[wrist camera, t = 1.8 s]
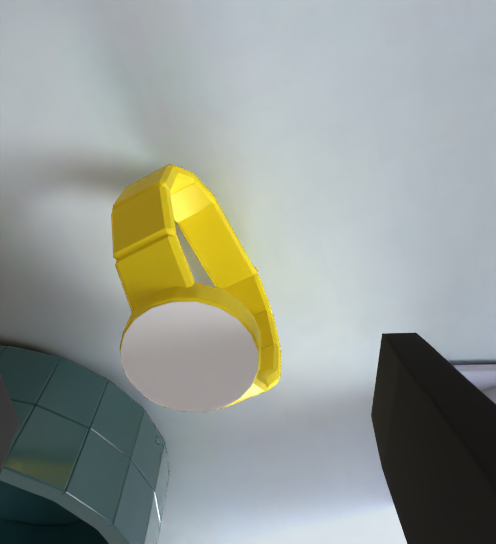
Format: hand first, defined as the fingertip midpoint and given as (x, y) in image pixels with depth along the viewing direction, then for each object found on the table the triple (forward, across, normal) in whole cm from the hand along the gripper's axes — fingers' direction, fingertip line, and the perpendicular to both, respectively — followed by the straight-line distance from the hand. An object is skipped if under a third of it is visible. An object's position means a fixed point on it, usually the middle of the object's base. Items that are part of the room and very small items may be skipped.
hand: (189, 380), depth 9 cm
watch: (+6, 0, 0) cm, 7 cm away
